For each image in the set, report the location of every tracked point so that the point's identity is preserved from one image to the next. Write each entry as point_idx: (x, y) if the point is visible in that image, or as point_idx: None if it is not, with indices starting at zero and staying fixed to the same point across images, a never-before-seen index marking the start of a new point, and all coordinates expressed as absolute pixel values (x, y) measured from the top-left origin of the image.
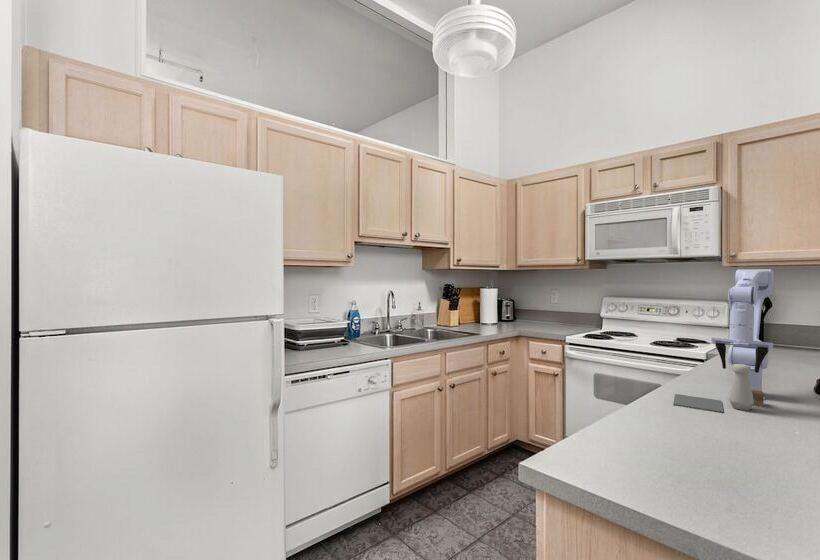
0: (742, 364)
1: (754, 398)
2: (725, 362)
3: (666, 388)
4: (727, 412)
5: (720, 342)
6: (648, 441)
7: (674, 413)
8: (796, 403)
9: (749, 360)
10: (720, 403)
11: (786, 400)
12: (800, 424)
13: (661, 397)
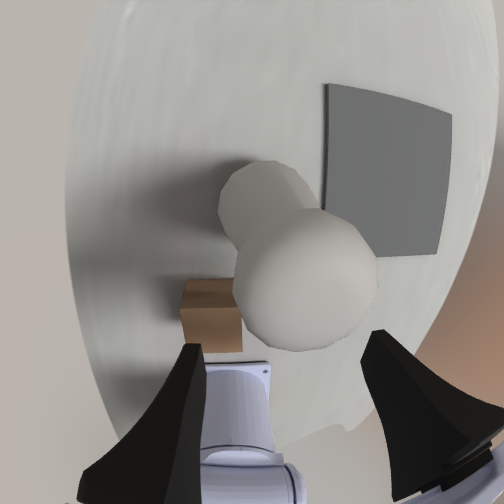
0: (309, 317)
1: (212, 294)
2: (395, 357)
3: (431, 316)
4: (313, 103)
5: (464, 484)
6: None
7: (435, 29)
8: (119, 369)
9: (230, 481)
10: (329, 208)
11: (142, 384)
12: (96, 110)
13: (466, 195)
